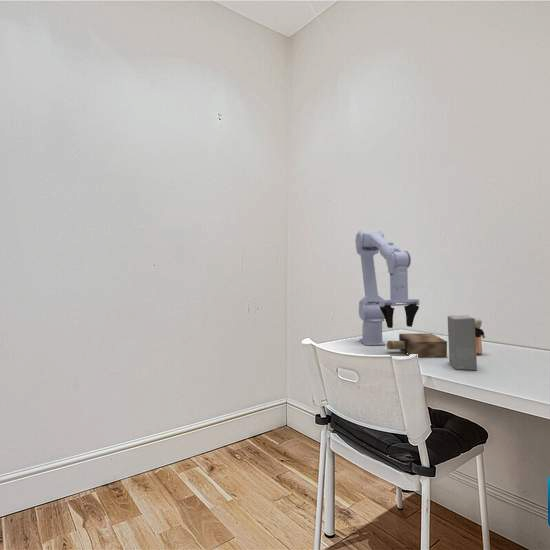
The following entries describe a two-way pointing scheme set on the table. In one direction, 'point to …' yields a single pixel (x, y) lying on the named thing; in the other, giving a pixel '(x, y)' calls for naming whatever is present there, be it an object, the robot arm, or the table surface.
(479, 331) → the grandmother figurine
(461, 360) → the skincare box
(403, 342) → the peg
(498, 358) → the table surface
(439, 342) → the block
